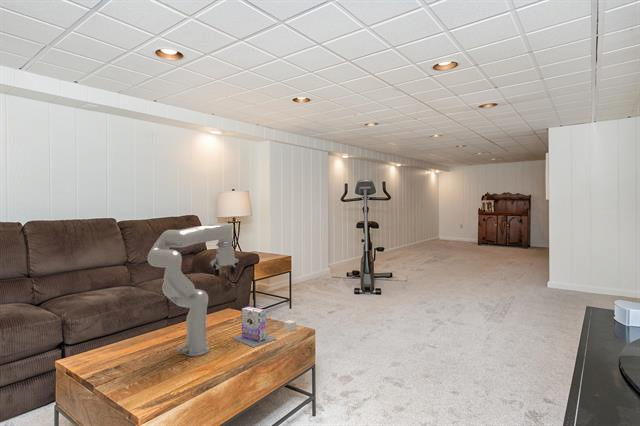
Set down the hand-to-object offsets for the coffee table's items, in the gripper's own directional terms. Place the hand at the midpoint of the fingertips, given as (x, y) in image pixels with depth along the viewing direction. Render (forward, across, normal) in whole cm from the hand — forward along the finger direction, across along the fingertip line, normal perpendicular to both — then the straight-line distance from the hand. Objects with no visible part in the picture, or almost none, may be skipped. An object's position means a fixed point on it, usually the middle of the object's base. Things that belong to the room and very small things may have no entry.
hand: (224, 275), depth 203 cm
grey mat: (+35, +11, -14) cm, 39 cm away
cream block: (+35, +35, -16) cm, 52 cm away
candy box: (+35, +11, -14) cm, 39 cm away
